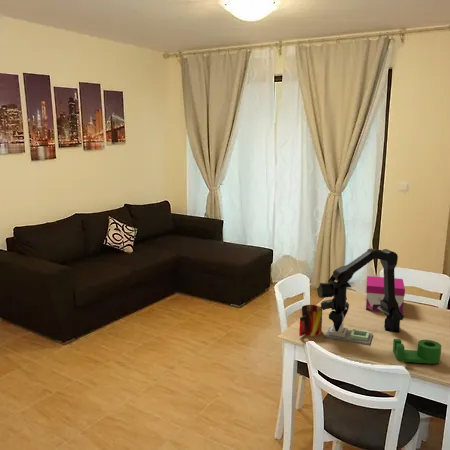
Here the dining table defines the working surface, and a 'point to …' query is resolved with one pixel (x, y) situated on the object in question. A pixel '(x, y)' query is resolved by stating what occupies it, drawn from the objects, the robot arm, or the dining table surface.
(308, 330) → the mug
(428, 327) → the dining table surface
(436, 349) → the green bracket
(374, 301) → the decorative box
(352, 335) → the panel
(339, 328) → the plug
